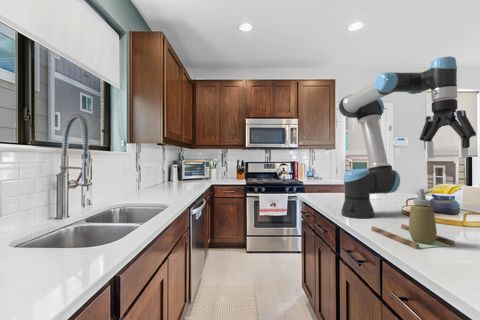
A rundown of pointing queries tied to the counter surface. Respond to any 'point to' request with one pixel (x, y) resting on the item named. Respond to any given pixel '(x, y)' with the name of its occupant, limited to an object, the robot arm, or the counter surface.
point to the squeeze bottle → (422, 220)
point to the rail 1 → (396, 237)
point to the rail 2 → (438, 238)
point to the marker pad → (434, 244)
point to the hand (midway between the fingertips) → (445, 157)
